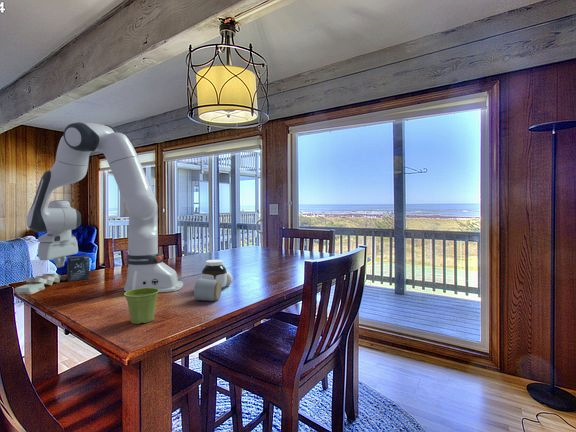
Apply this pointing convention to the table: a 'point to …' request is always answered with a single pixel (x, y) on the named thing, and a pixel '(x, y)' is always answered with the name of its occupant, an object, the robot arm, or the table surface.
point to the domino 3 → (31, 291)
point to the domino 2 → (29, 287)
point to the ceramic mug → (207, 290)
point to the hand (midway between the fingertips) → (60, 266)
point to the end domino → (55, 276)
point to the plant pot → (141, 304)
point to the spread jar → (217, 273)
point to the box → (78, 268)
